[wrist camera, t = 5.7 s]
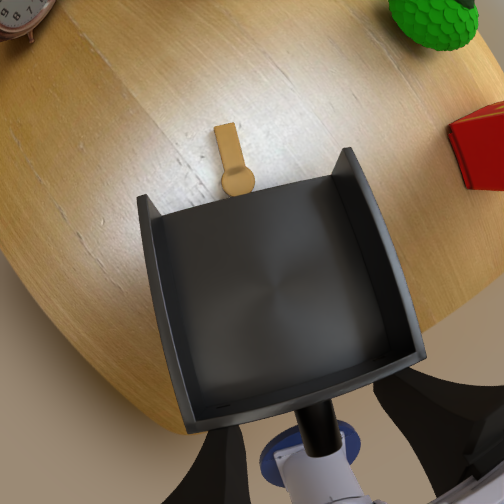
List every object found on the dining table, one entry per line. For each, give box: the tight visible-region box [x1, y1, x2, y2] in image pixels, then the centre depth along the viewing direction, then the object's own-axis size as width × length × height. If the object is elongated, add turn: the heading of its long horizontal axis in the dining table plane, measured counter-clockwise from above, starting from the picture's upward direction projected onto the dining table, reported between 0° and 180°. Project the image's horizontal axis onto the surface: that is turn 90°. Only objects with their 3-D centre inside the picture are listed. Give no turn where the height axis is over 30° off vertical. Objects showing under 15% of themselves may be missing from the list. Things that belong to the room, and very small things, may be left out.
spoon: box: [214, 122, 255, 197], centre depth 20 cm, size 5×2×1 cm, turn 14°
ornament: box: [388, 0, 479, 51], centre depth 14 cm, size 8×8×10 cm
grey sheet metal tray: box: [137, 147, 427, 458], centre depth 13 cm, size 13×10×3 cm
